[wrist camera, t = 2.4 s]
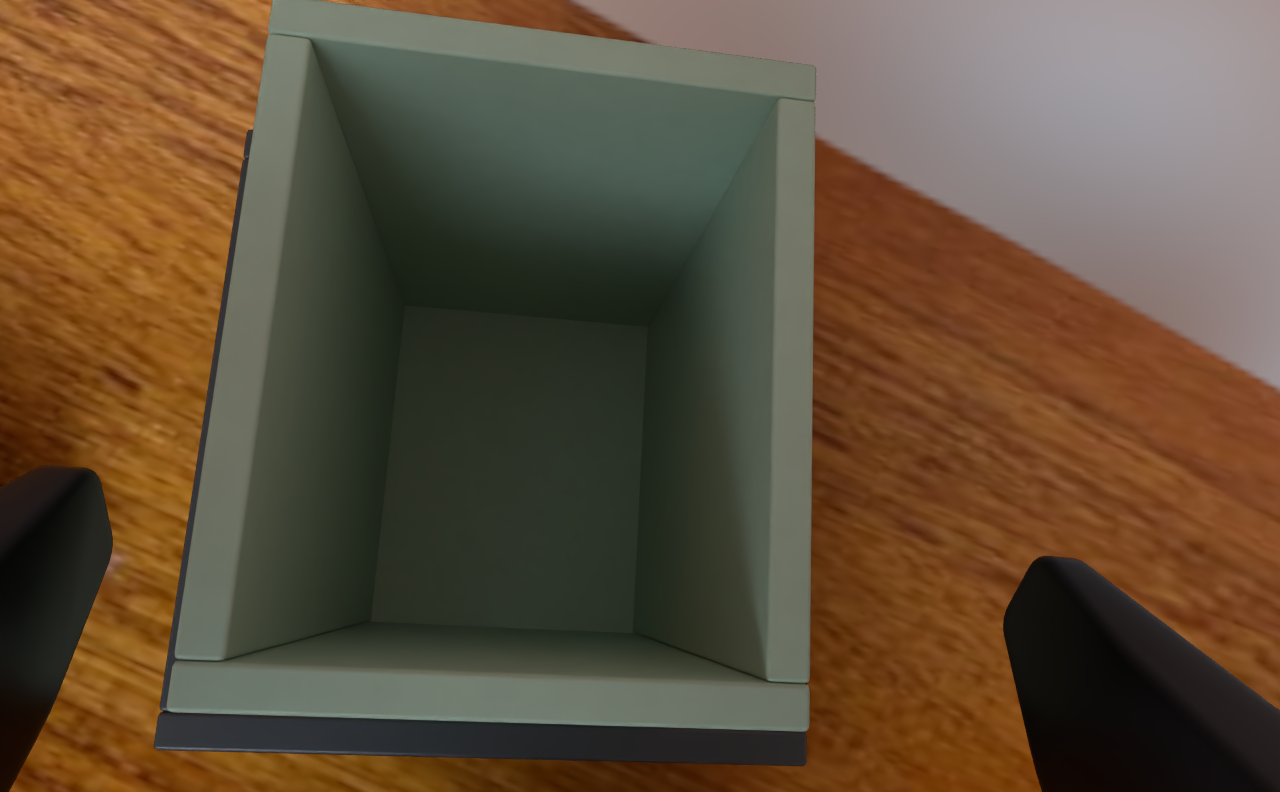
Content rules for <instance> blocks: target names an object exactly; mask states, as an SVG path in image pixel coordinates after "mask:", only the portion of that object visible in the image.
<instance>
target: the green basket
mask: <svg viewBox="0 0 1280 792" xmlns="http://www.w3.org/2000/svg"><path fill="white" fill-rule="evenodd" d="M268 31H269V35H268V37H267V42H266V49H265V56H264V62H263V69H262V75H261V82H260V89H259V95H258V102H257V109H256V115H255V122H254V129H253V135H252V142H251V148H250V155H249V162H248V168H247V175H246V182H245V188H244V195H243V202H242V208H241V215H240V221H239V228H238V235H237V241H236V248H235V255H234V261H233V268H232V275H231V281H230V288H229V294H228V301H227V308H226V314H225V321H224V328H223V334H222V341H221V348H220V354H219V361H218V367H217V374H216V381H215V387H214V394H213V401H212V407H211V414H210V421H209V427H208V434H207V440H206V447H205V454H204V460H203V467H202V474H201V480H200V487H199V494H198V500H197V507H196V514H195V520H194V527H193V533H192V540H191V547H190V553H189V560H188V567H187V573H186V580H185V587H184V593H183V600H182V606H181V613H180V620H179V626H178V633H177V640H176V646H175V657H176V658H177V659H179V660H178V661H176V662H175V663H174V664H173V666H172V673H171V679H170V686H169V693H168V699H167V710H168V711H170V712H176V713H209V714H241V715H274V716H307V717H340V718H373V719H406V720H438V721H471V722H504V723H537V724H570V725H603V726H636V727H668V728H701V729H734V730H767V731H800V732H804V731H806V730H808V728H809V707H810V689H809V686H808V685H806V684H804V683H807V682H808V681H809V679H810V603H811V500H812V396H813V292H814V189H815V104H814V101H815V99H816V68H815V66H813V65H807V64H799V63H792V62H784V61H776V60H768V59H761V58H753V57H745V56H738V55H730V54H723V53H714V52H708V51H700V50H692V49H685V48H677V47H669V46H662V45H654V44H647V43H639V42H631V41H624V40H616V39H609V38H601V37H593V36H586V35H578V34H571V33H563V32H555V31H548V30H540V29H532V28H525V27H517V26H510V25H502V24H494V23H487V22H479V21H471V20H464V19H456V18H449V17H441V16H433V15H426V14H418V13H410V12H403V11H395V10H388V9H380V8H372V7H365V6H357V5H349V4H342V3H334V2H327V1H319V0H272V7H271V13H270V20H269V27H268Z"/></svg>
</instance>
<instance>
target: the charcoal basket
mask: <svg viewBox="0 0 1280 792" xmlns="http://www.w3.org/2000/svg"><path fill="white" fill-rule="evenodd" d="M252 135H253V130H248V132H247V136H246V143H245V149H244V158H245V160H244V161H243V163H242V169H241V176H240V182H239V189H238V195H237V202H236V209H235V215H234V222H233V228H232V235H231V241H230V248H229V255H228V261H227V268H226V274H225V281H224V287H223V294H222V301H221V307H220V314H219V320H218V327H217V333H216V340H215V347H214V353H213V360H212V366H211V373H210V380H209V386H208V393H207V399H206V406H205V412H204V419H203V426H202V432H201V439H200V445H199V452H198V458H197V465H196V472H195V478H194V485H193V491H192V498H191V504H190V511H189V518H188V524H187V531H186V537H185V544H184V550H183V557H182V564H181V570H180V577H179V583H178V590H177V596H176V603H175V610H174V616H173V623H172V629H171V636H170V642H169V649H168V656H167V662H166V669H165V675H164V682H163V688H162V695H161V702H160V710H162V711H163V712H161V713H160V714H159V716H158V721H157V728H156V734H155V741H154V748H155V749H157V750H174V751H214V752H254V753H294V754H333V755H373V756H413V757H452V758H492V759H532V760H571V761H611V762H651V763H690V764H730V765H770V766H804V765H806V762H807V735H806V732H800V731H767V730H734V729H701V728H668V727H636V726H603V725H570V724H537V723H504V722H471V721H438V720H406V719H373V718H340V717H307V716H274V715H241V714H209V713H176V712H170V711H168V710H167V699H168V693H169V686H170V679H171V673H172V666H173V664H174V663H175V662H176V661H178V660H179V659H177V658H176V657H175V646H176V640H177V633H178V626H179V620H180V613H181V606H182V600H183V593H184V587H185V580H186V573H187V567H188V560H189V553H190V547H191V540H192V533H193V527H194V520H195V514H196V507H197V500H198V494H199V487H200V480H201V474H202V467H203V460H204V454H205V447H206V440H207V434H208V427H209V421H210V414H211V407H212V401H213V394H214V387H215V381H216V374H217V367H218V361H219V354H220V348H221V341H222V334H223V328H224V321H225V314H226V308H227V301H228V294H229V288H230V281H231V275H232V268H233V261H234V255H235V248H236V241H237V235H238V228H239V221H240V215H241V208H242V202H243V195H244V188H245V182H246V175H247V168H248V162H249V155H250V148H251V142H252ZM804 684H806V685H807V683H804Z"/></svg>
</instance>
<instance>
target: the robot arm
mask: <svg viewBox="0 0 1280 792" xmlns="http://www.w3.org/2000/svg"><path fill="white" fill-rule="evenodd" d="M112 545H113V538H112V531H111V527H110V522H109V518H108V513H107V508H106V504H105V499H104V495H103V490H102V486H101V482H100V479H99V477H98V475H97V474H96V473H95V472H94V471H93V470H90V469H88V468H82V467H71V466H60V465H44V466H40V467H38V468H36V469H34V470H32V471H30V472H28V473H26V474H24V475H22V476H20V477H19V478H17V479H15V480H13V481H11V482H9V483H7V484H5V485H3V486H2V487H0V792H9V790H10V789H11V787H12V785H13V783H14V781H15V779H16V777H17V775H18V773H19V772H20V770H21V768H22V766H23V764H24V762H25V760H26V758H27V756H28V755H29V753H30V751H31V749H32V747H33V745H34V743H35V741H36V739H37V737H38V735H39V733H40V731H41V729H42V727H43V725H44V723H45V721H46V719H47V717H48V715H49V713H50V711H51V708H52V706H53V704H54V701H55V699H56V697H57V694H58V692H59V689H60V687H61V684H62V682H63V679H64V677H65V674H66V672H67V669H68V667H69V664H70V661H71V659H72V656H73V654H74V651H75V649H76V646H77V643H78V641H79V638H80V636H81V633H82V631H83V628H84V625H85V623H86V620H87V618H88V615H89V613H90V610H91V608H92V605H93V602H94V600H95V597H96V595H97V592H98V590H99V587H100V584H101V582H102V579H103V577H104V574H105V572H106V569H107V567H108V564H109V561H110V557H111V553H112ZM1003 630H1004V637H1005V641H1006V646H1007V650H1008V655H1009V659H1010V663H1011V668H1012V672H1013V677H1014V681H1015V685H1016V690H1017V694H1018V698H1019V703H1020V707H1021V712H1022V716H1023V720H1024V725H1025V729H1026V733H1027V738H1028V742H1029V747H1030V751H1031V755H1032V758H1033V762H1034V766H1035V770H1036V774H1037V777H1038V780H1039V783H1040V786H1041V790H1042V792H1280V711H1279V710H1278V709H1277V708H1275V707H1274V706H1273V705H1271V704H1270V703H1269V702H1267V701H1266V700H1265V699H1263V698H1262V697H1261V696H1259V695H1258V694H1257V693H1256V692H1254V691H1253V690H1252V689H1250V688H1249V687H1248V686H1246V685H1245V684H1244V683H1242V682H1241V681H1240V680H1238V679H1237V678H1236V677H1234V676H1233V675H1232V674H1230V673H1229V672H1228V671H1227V670H1225V669H1224V668H1223V667H1221V666H1220V665H1219V664H1217V663H1216V662H1215V661H1213V660H1212V659H1211V658H1209V657H1208V656H1207V655H1205V654H1204V653H1203V652H1202V651H1200V650H1199V649H1198V648H1196V647H1195V646H1194V645H1192V644H1191V643H1190V642H1188V641H1187V640H1186V639H1184V638H1183V637H1182V636H1180V635H1179V634H1178V633H1176V632H1175V631H1174V630H1173V629H1171V628H1170V627H1169V626H1167V625H1166V624H1165V623H1163V622H1162V621H1161V620H1159V619H1158V618H1157V617H1155V616H1154V615H1153V614H1151V613H1150V612H1149V611H1148V610H1146V609H1145V608H1144V607H1142V606H1141V605H1140V604H1138V603H1137V602H1136V601H1134V600H1133V599H1132V598H1130V597H1129V596H1128V595H1126V594H1125V593H1124V592H1123V591H1121V590H1120V589H1119V588H1117V587H1116V586H1115V585H1113V584H1112V583H1111V582H1109V581H1108V580H1107V579H1105V578H1104V577H1103V576H1101V575H1100V574H1099V573H1097V572H1096V571H1095V570H1094V569H1092V568H1091V567H1090V566H1088V565H1087V564H1086V563H1084V562H1083V561H1080V560H1078V559H1074V558H1065V557H1054V556H1042V557H1039V558H1037V559H1036V560H1034V561H1033V562H1032V564H1031V565H1030V567H1029V568H1028V570H1027V572H1026V574H1025V576H1024V577H1023V579H1022V581H1021V583H1020V585H1019V587H1018V588H1017V590H1016V592H1015V594H1014V596H1013V598H1012V599H1011V601H1010V603H1009V605H1008V607H1007V609H1006V612H1005V616H1004V622H1003Z"/></svg>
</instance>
